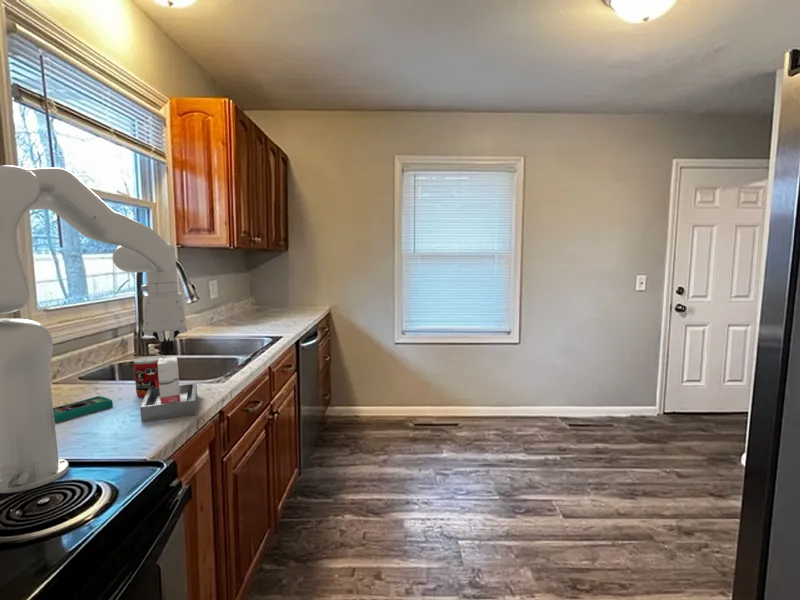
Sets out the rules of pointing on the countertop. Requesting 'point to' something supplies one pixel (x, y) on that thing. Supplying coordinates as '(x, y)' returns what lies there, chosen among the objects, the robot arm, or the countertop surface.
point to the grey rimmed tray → (169, 404)
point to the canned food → (146, 374)
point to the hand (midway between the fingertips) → (168, 354)
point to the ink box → (168, 380)
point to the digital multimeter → (81, 408)
